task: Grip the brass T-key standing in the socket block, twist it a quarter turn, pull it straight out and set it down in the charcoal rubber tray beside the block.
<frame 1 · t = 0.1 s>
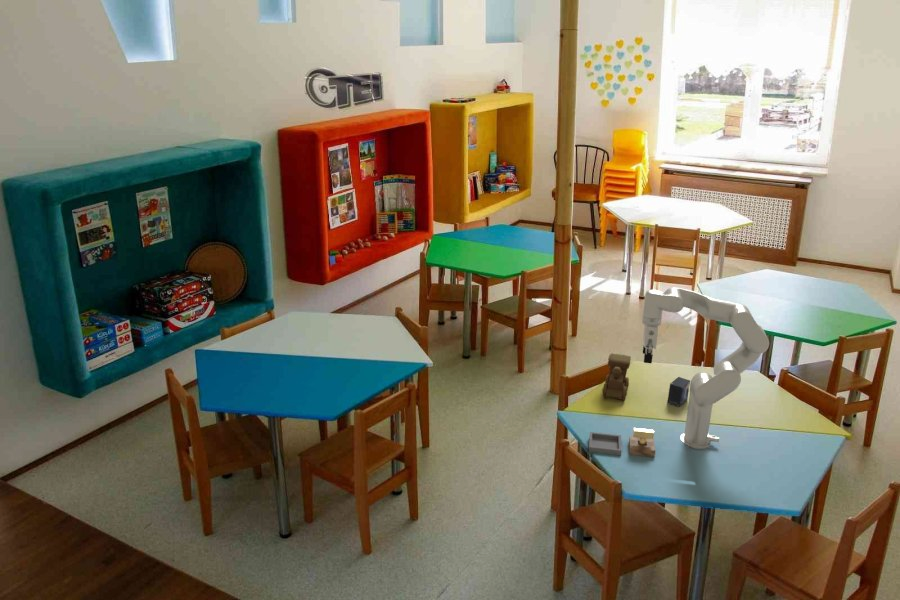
hand: (647, 358, 324), 37 cm above the table, tool pointing down, fingers open, 9 cm apart
socket block: (641, 451, 324), on the table
small box: (677, 402, 369), on the table
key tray: (604, 447, 326), on the table
t key: (641, 449, 324), point 1 cm above the table, touching socket block
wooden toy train: (615, 393, 375), on the table
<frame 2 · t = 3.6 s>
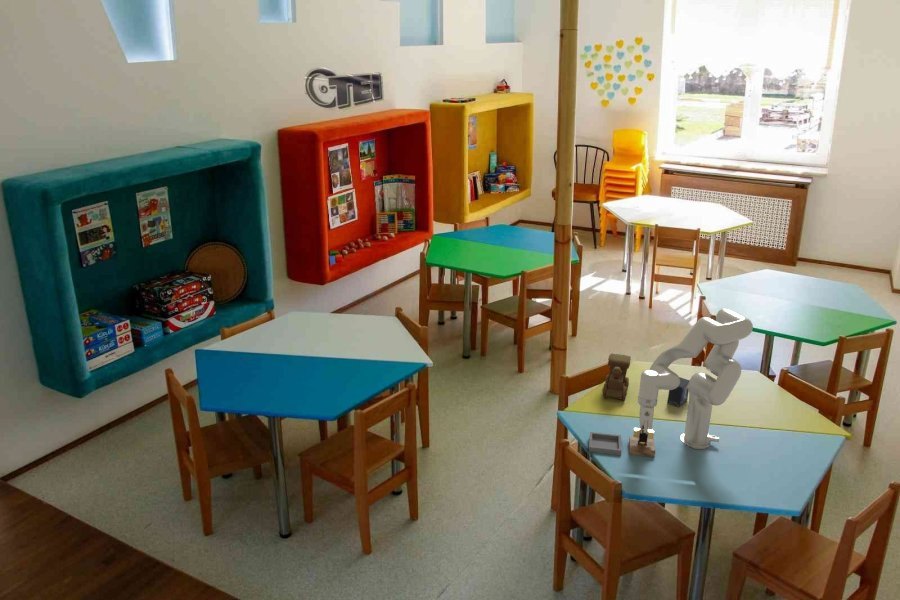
hand: (642, 439, 322), 6 cm above the table, tool pointing down, fingers closed on t key, 2 cm apart
t key: (641, 449, 324), point 1 cm above the table, touching gripper
everything else where it was.
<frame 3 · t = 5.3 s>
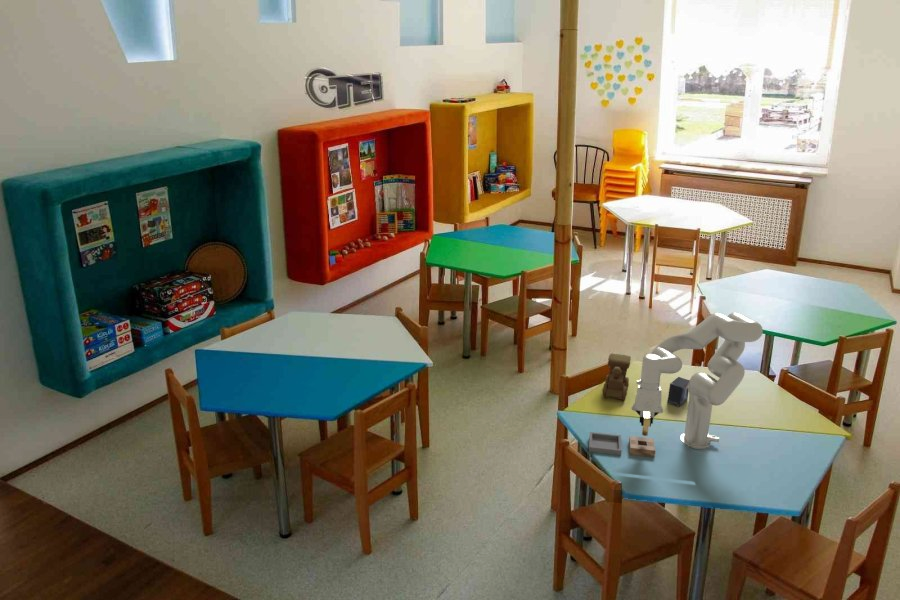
hand: (645, 424, 320), 13 cm above the table, tool pointing down, fingers closed on t key, 2 cm apart
t key: (644, 434, 322), point 8 cm above the table, touching gripper
everything else where it was.
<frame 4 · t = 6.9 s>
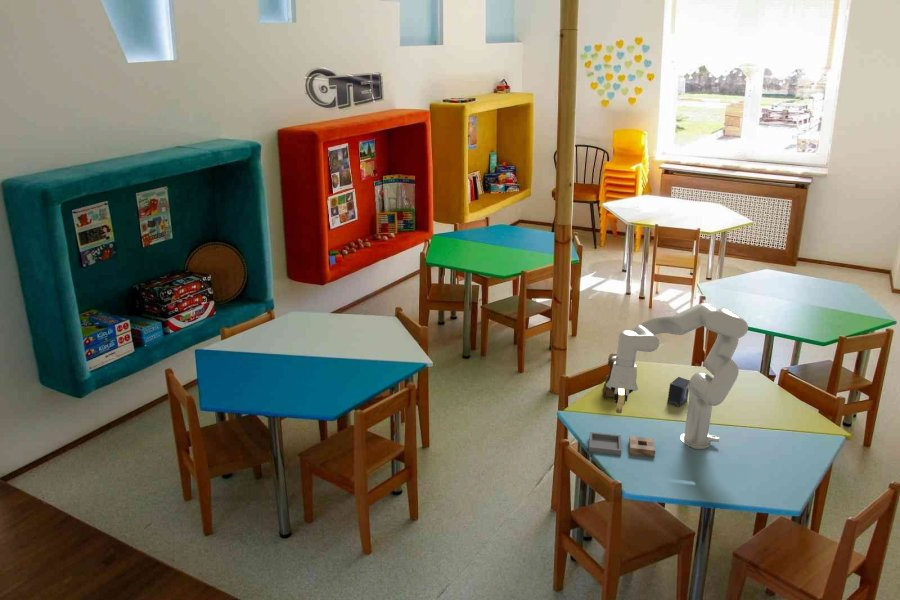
hand: (620, 401, 318), 22 cm above the table, tool pointing down, fingers closed on t key, 2 cm apart
t key: (618, 412, 320), point 17 cm above the table, touching gripper
everything else where it was.
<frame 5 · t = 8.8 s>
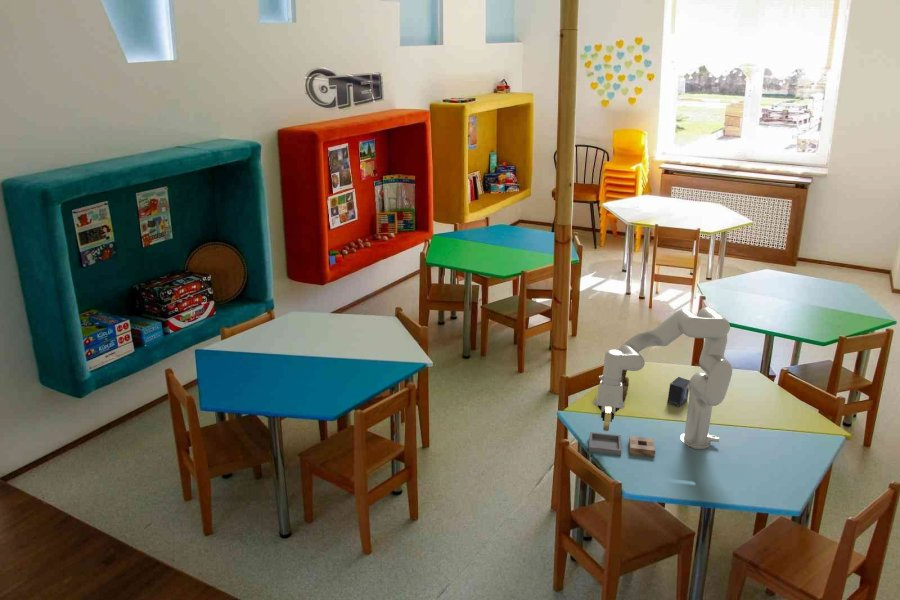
hand: (607, 419, 322), 13 cm above the table, tool pointing down, fingers closed on t key, 2 cm apart
t key: (605, 429, 324), point 8 cm above the table, touching gripper
everything else where it was.
when the fingers open (8 cm above the table, at t = 10.4 s): t key drops 2 cm, resting on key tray.
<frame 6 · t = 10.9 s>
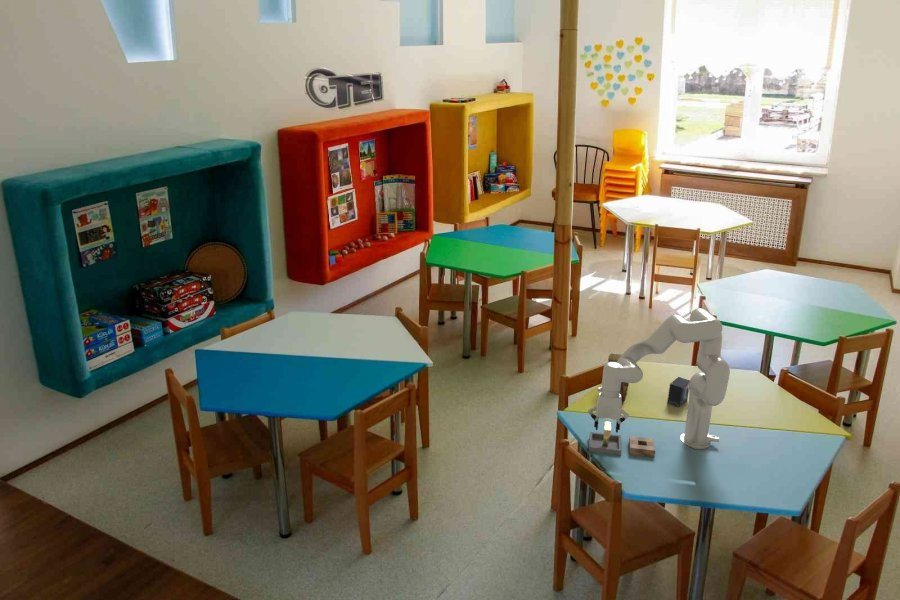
hand: (606, 429, 324), 8 cm above the table, tool pointing down, fingers open, 7 cm apart
t key: (605, 445, 326), point 1 cm above the table, touching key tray
everything else where it was.
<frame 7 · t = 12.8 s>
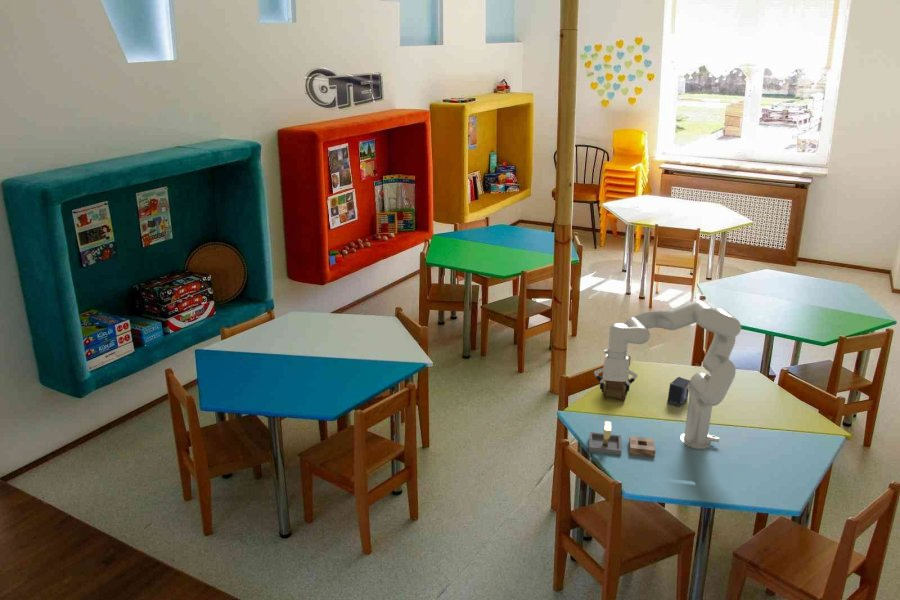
hand: (614, 391, 320), 25 cm above the table, tool pointing down, fingers open, 9 cm apart
nothing on the table moved.
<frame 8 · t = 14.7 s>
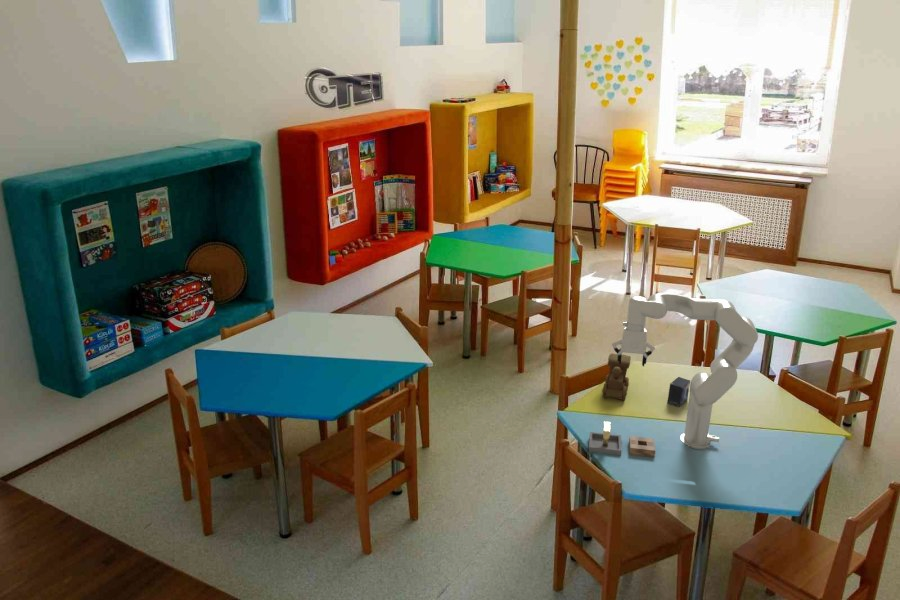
hand: (631, 363, 327), 33 cm above the table, tool pointing down, fingers open, 9 cm apart
nothing on the table moved.
at the end: t key inside the target area on the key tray (0.1 cm from its centre), point 1.0 cm above the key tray's base; t key moved 14.9 cm from its start; the gripper is holding nothing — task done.
